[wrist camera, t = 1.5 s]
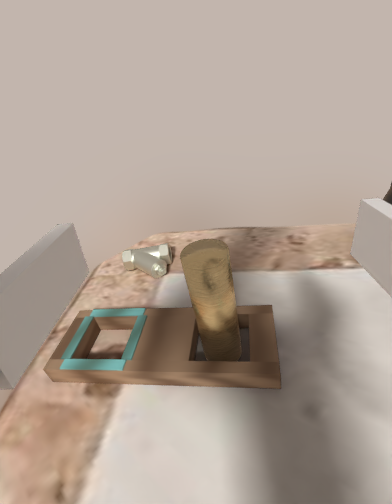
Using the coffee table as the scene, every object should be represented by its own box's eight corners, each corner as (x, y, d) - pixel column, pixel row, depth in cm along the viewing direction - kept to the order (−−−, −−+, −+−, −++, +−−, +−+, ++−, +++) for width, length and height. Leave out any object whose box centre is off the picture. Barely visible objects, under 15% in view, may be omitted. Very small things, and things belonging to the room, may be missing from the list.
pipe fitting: (172, 281, 46) (172, 255, 51) (166, 263, 44) (167, 238, 49) (125, 288, 47) (130, 262, 52) (117, 271, 44) (123, 246, 49)
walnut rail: (272, 319, 35) (271, 304, 34) (280, 388, 28) (280, 372, 26) (86, 322, 40) (79, 309, 39) (53, 381, 33) (42, 368, 32)
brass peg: (241, 334, 34) (229, 237, 26) (242, 367, 30) (227, 265, 23) (206, 334, 35) (184, 240, 27) (202, 366, 31) (175, 268, 24)
